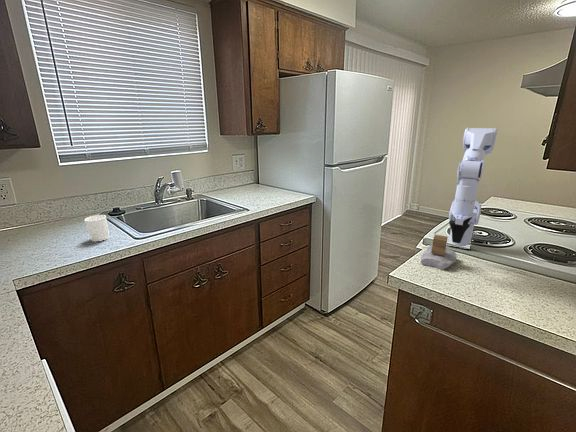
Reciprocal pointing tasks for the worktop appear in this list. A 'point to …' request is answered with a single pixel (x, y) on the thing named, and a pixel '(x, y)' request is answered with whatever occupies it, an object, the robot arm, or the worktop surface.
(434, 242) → the walnut block
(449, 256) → the stone block
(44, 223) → the worktop surface
